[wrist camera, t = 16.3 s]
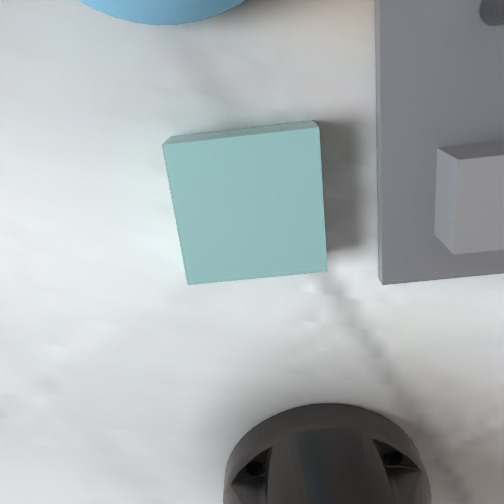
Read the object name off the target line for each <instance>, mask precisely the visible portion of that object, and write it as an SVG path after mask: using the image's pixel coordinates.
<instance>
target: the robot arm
mask: <svg viewBox="0 0 504 504" xmlns="http://www.w3.org/2000/svg"><path fill="white" fill-rule="evenodd" d="M223 504H431V489H430V484H429V480H428V476H427V473H426V471H425V468H424V466H423V463H422V461H421V458H420V456H419V453H418V451H417V449H416V447H415V445H414V443H413V442H412V441H411V439H410V438H409V437H408V436H407V434H406V433H405V432H404V431H403V430H402V429H400V428H399V427H398V426H397V425H395V424H394V423H392V422H391V421H389V420H388V419H386V418H384V417H382V416H380V415H378V414H376V413H373V412H371V411H368V410H365V409H361V408H357V407H352V406H346V405H335V404H321V405H310V406H304V407H299V408H295V409H291V410H288V411H285V412H282V413H279V414H277V415H275V416H272V417H270V418H268V419H266V420H265V421H263V422H261V423H260V424H258V425H257V426H255V427H254V428H253V429H252V430H250V431H249V432H248V433H247V434H246V435H245V436H244V437H243V438H242V439H241V440H240V441H239V442H238V444H237V445H236V447H235V448H234V450H233V451H232V453H231V455H230V457H229V460H228V462H227V466H226V470H225V480H224V493H223Z"/></svg>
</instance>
